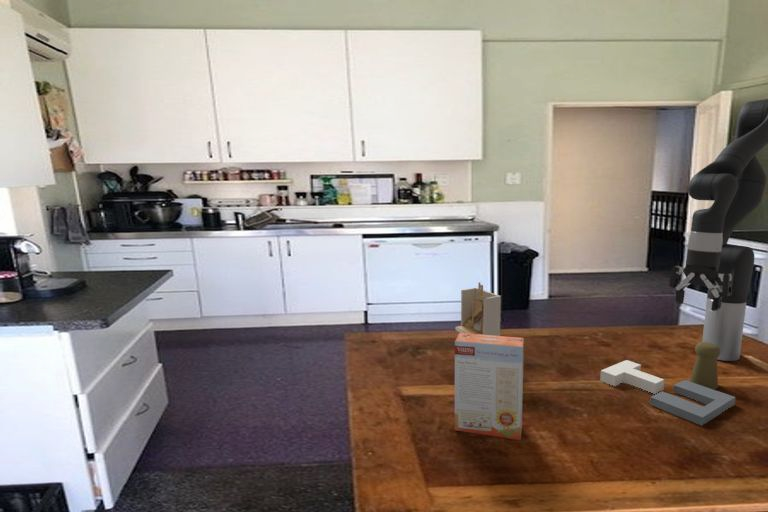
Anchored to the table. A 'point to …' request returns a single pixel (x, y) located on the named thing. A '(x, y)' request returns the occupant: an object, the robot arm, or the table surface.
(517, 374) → the cracker box
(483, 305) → the beige open box
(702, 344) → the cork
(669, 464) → the table surface
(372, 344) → the table surface
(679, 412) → the t bay
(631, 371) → the t block
